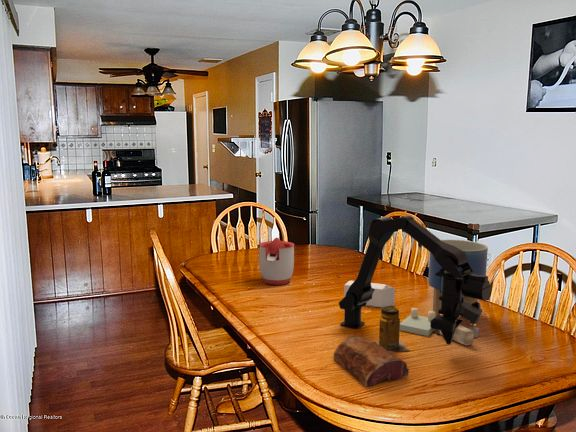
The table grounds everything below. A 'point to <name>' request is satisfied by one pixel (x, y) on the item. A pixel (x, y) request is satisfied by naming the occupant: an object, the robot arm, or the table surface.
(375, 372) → the cured meat
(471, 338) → the leg
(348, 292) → the robot arm
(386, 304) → the milk carton
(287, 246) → the citrus juicer
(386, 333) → the condiment
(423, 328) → the stool seat
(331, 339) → the table surface
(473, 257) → the planter
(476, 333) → the stop block
